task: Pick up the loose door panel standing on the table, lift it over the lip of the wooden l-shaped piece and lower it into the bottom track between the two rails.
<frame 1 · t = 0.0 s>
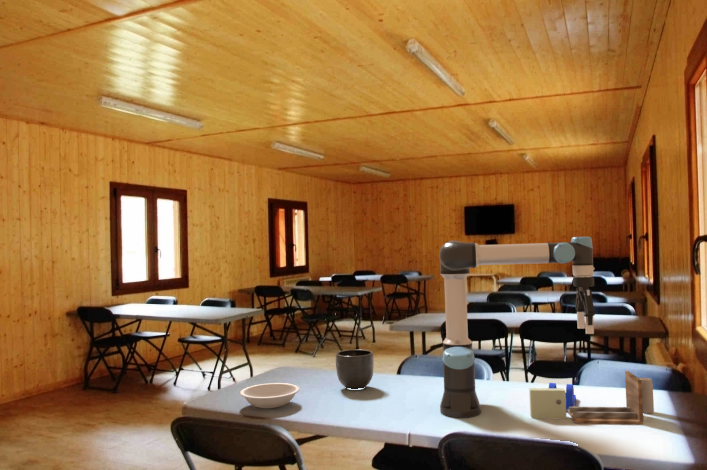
hand: (585, 331, 222), 28 cm above the table, fingers open, 13 cm apart
wooden l-shaped piece: (603, 417, 204), on the table
door panel: (548, 417, 207), on the table
soup bowl: (270, 406, 233), on the table
planter: (355, 388, 257), on the table
bracket: (563, 404, 223), on the table
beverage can: (646, 412, 209), on the table
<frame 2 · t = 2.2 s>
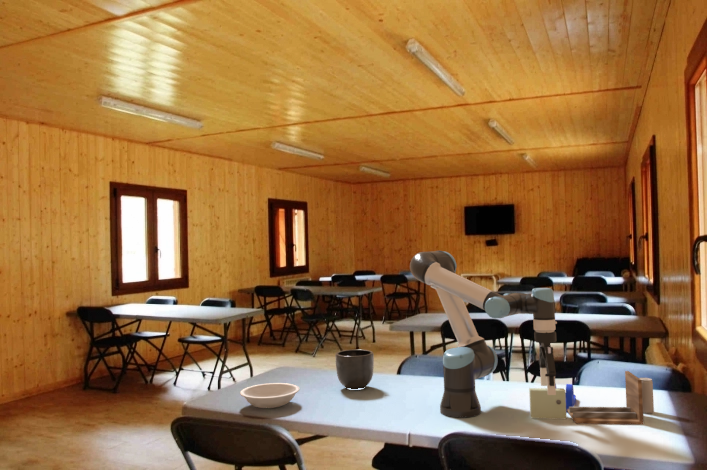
hand: (548, 390, 207), 10 cm above the table, fingers open, 13 cm apart
nothing on the table moved.
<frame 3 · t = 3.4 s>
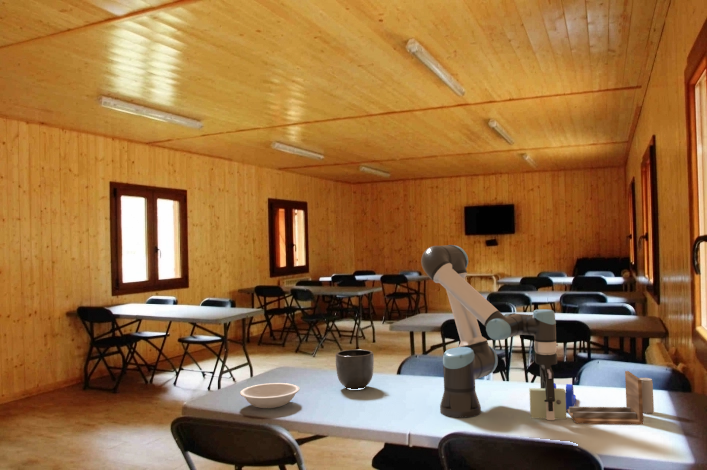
hand: (548, 416, 207), 0 cm above the table, fingers open, 7 cm apart
nothing on the table moved.
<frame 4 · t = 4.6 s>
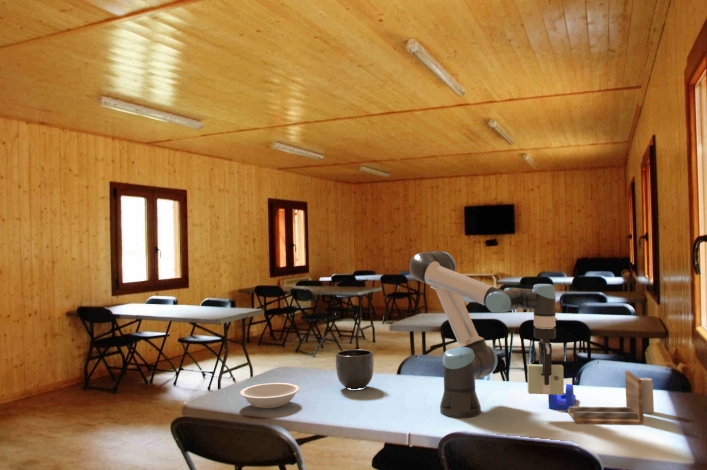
hand: (545, 391, 207), 9 cm above the table, fingers closed on door panel, 3 cm apart
door panel: (545, 393, 207), point 8 cm above the table, touching gripper
everything else where it was.
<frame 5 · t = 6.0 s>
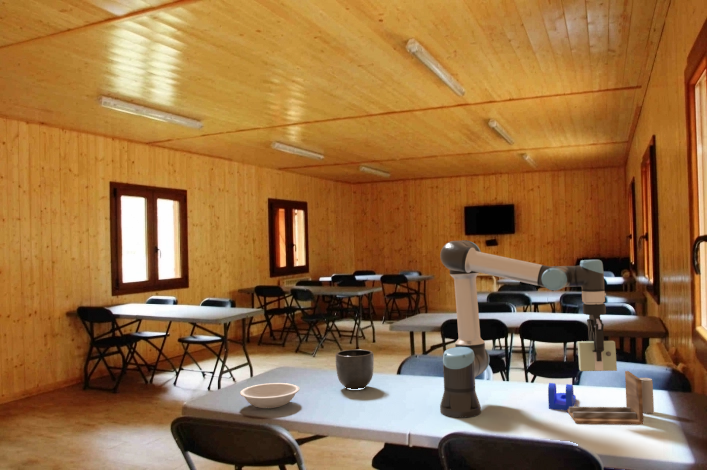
hand: (597, 368, 204), 17 cm above the table, fingers closed on door panel, 3 cm apart
door panel: (597, 370, 204), point 17 cm above the table, touching gripper
everything else where it was.
when the fingers open (3 cm above the table, at t = 7.9 s): door panel drops 2 cm, resting on wooden l-shaped piece.
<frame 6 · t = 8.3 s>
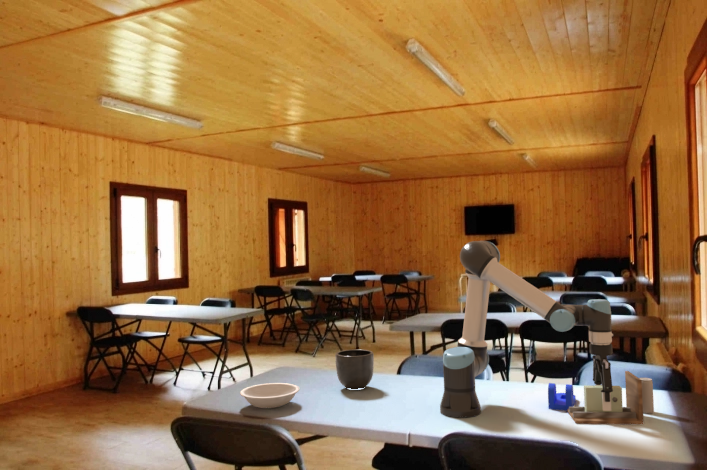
hand: (603, 406, 204), 4 cm above the table, fingers open, 9 cm apart
door panel: (603, 414, 204), point 1 cm above the table, touching wooden l-shaped piece
everything else where it was.
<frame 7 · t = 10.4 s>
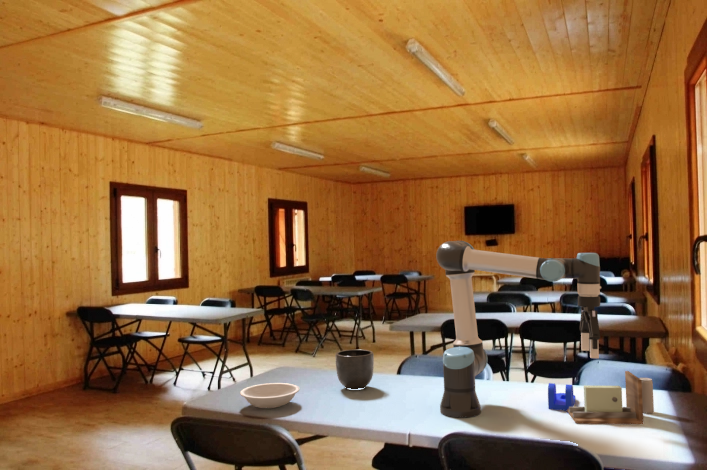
hand: (589, 354, 207), 22 cm above the table, fingers open, 13 cm apart
nothing on the table moved.
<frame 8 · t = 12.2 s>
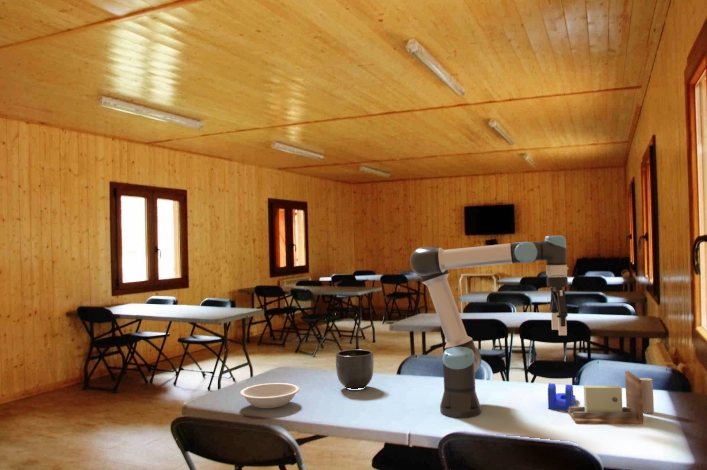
hand: (559, 332, 217), 29 cm above the table, fingers open, 13 cm apart
nothing on the table moved.
at the end: door panel inside the target area on the wooden l-shaped piece (0.0 cm from its centre), point 1.0 cm above the wooden l-shaped piece's base; door panel tilted 0°; the gripper is holding nothing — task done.
